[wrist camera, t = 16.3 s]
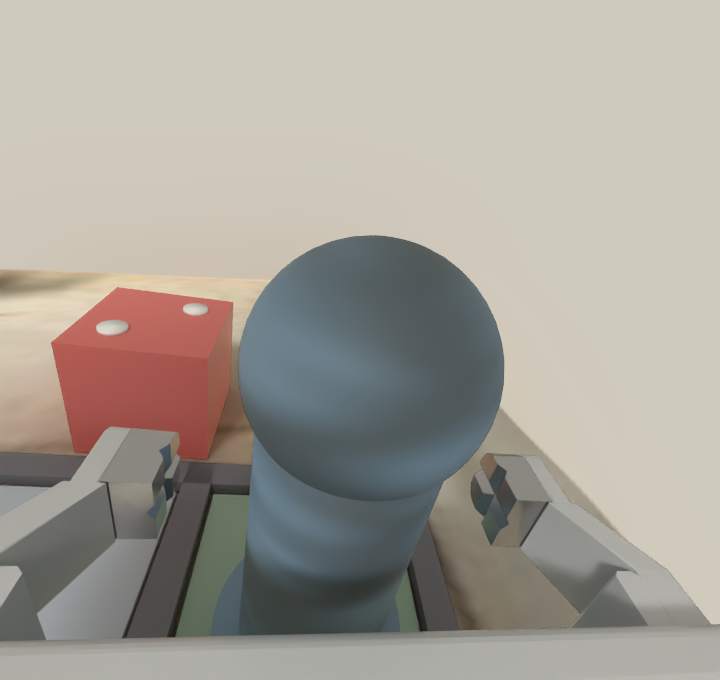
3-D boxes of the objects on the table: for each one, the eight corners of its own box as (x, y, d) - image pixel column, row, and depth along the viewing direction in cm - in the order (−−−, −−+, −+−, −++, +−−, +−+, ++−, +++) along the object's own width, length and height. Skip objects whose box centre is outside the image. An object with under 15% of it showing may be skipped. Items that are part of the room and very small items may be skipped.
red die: (74, 451, 18) (50, 339, 15) (127, 378, 23) (116, 284, 21) (207, 459, 19) (208, 355, 16) (229, 387, 25) (233, 299, 22)
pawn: (186, 774, 10) (153, 276, 4) (230, 551, 15) (248, 185, 9) (405, 756, 11) (683, 349, 5) (376, 554, 16) (489, 229, 10)
